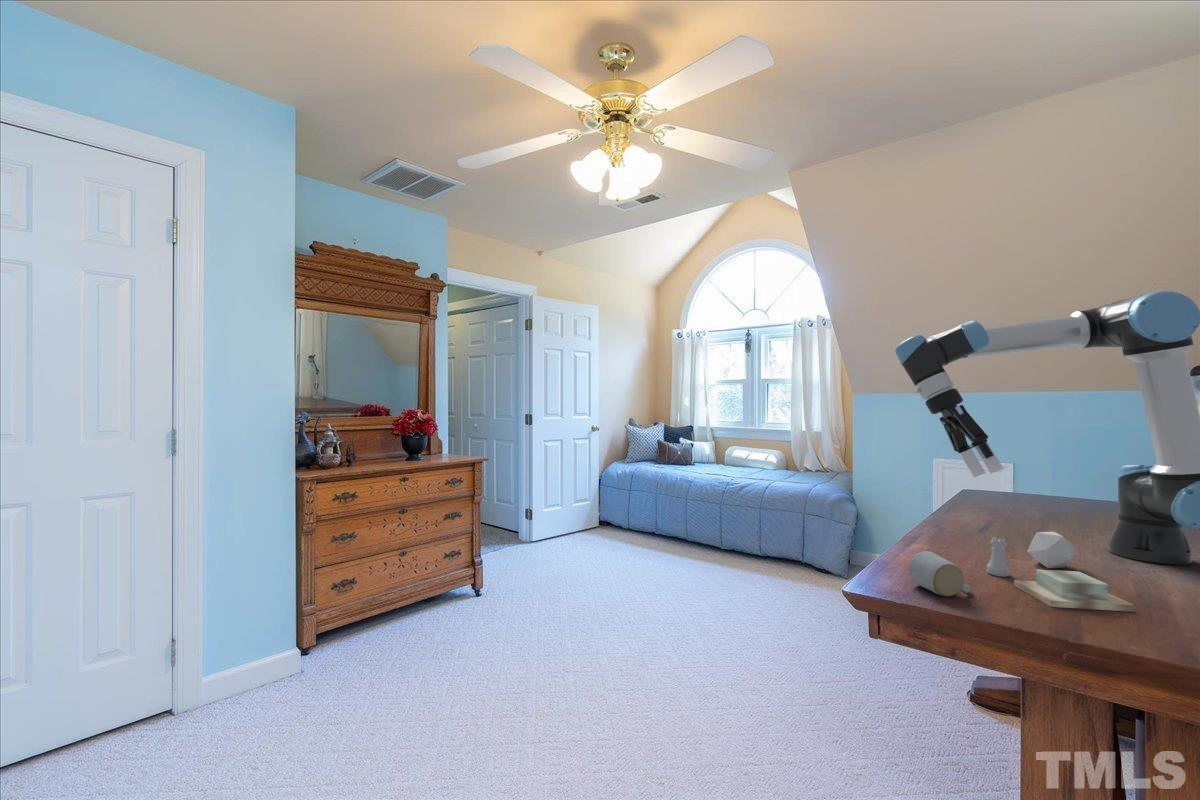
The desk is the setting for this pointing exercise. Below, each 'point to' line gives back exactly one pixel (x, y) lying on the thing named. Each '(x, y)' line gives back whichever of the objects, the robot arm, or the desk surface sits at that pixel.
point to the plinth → (1070, 601)
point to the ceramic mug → (937, 574)
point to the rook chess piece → (998, 559)
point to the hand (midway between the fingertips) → (988, 473)
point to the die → (1051, 549)
